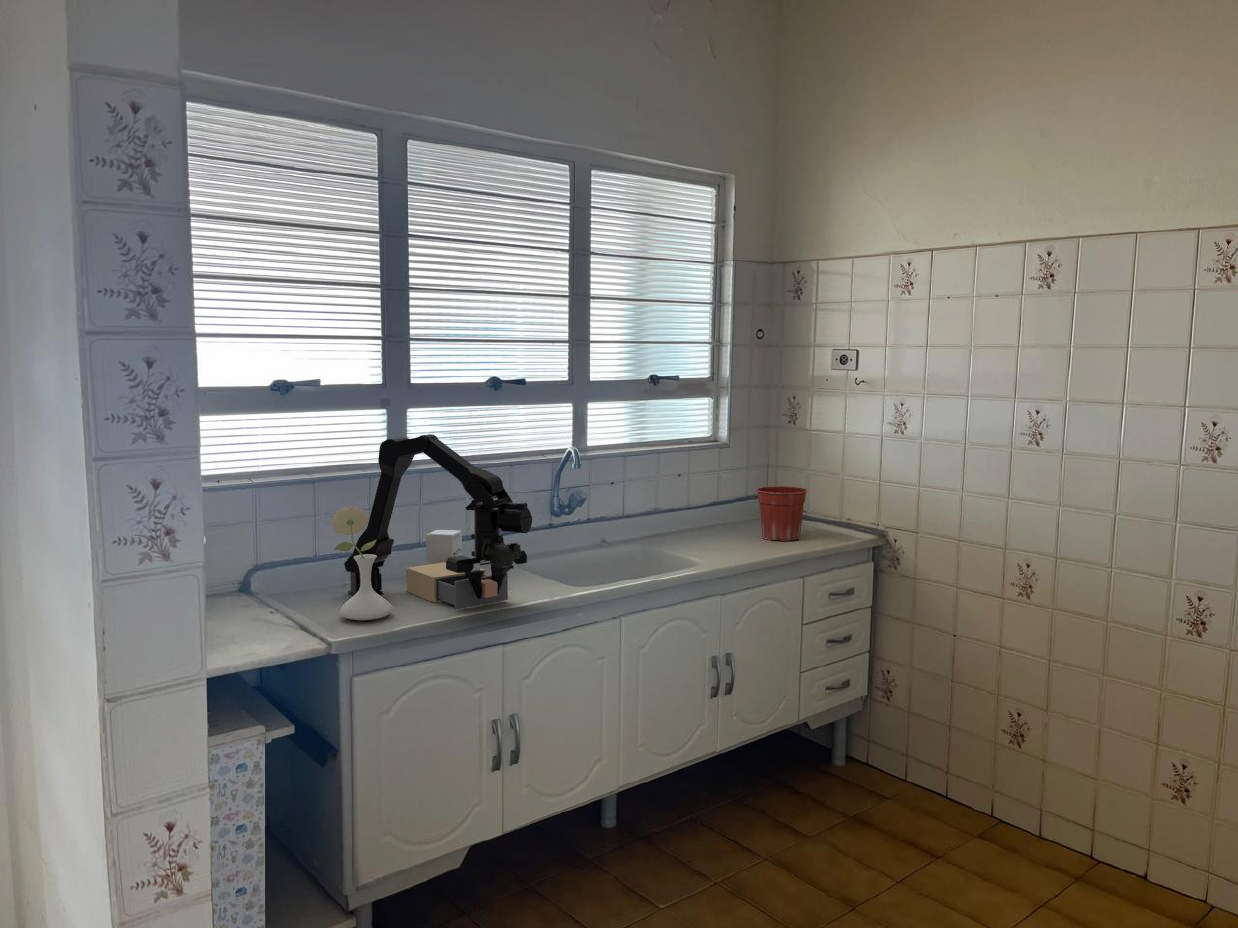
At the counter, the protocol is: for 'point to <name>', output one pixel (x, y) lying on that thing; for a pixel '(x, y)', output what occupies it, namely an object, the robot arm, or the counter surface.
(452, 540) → the supplement box
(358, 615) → the flower in vase
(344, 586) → the counter surface
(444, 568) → the sleeve
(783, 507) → the flower pot
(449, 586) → the tray
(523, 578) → the counter surface
